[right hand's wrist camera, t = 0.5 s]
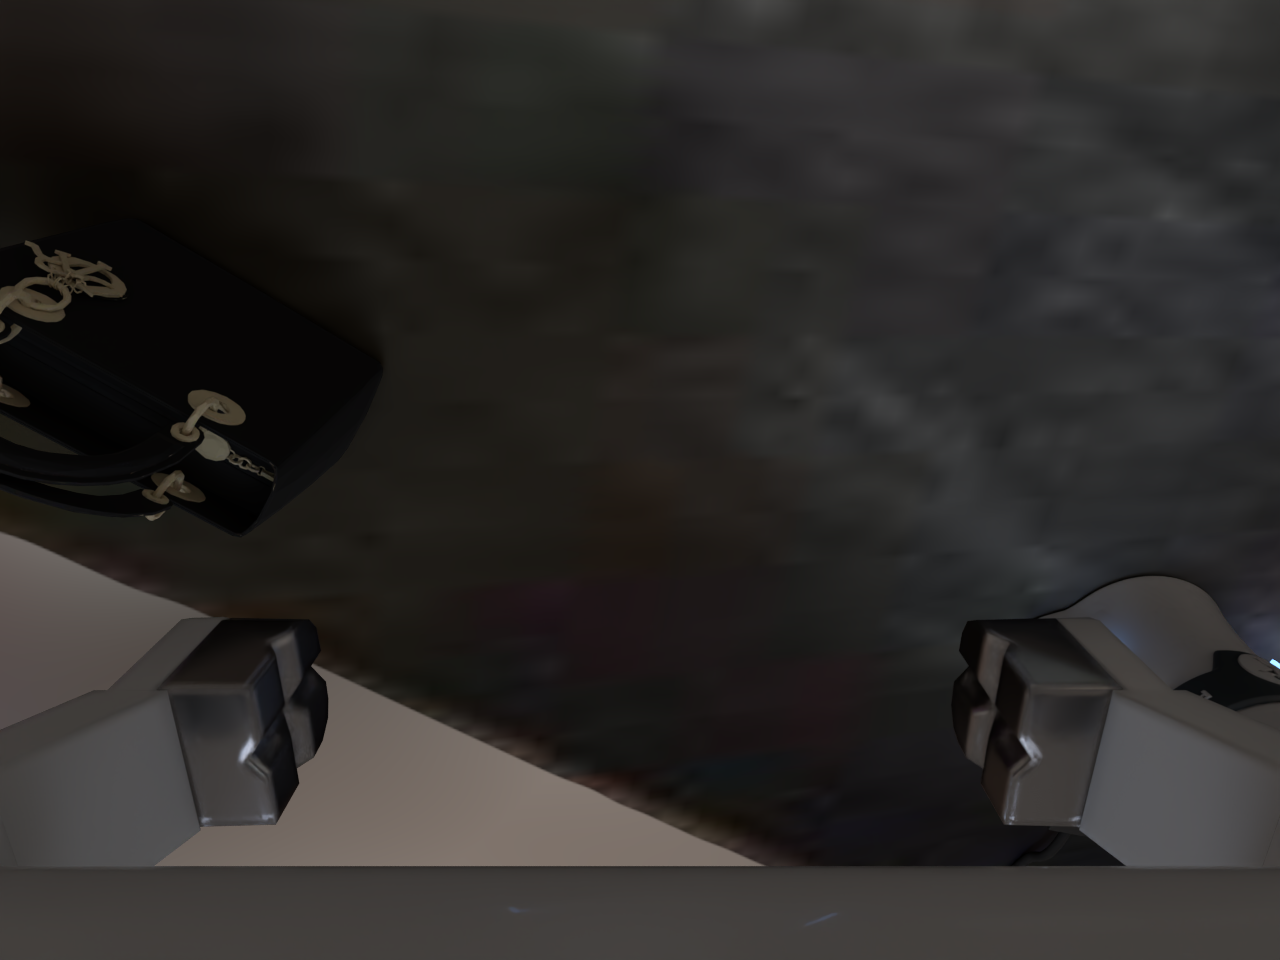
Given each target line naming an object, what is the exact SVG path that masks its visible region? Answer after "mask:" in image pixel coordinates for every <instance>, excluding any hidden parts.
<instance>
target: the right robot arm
mask: <svg viewBox="0 0 1280 960" xmlns="http://www.w3.org/2000/svg"><path fill="white" fill-rule="evenodd" d="M320 651H321V649H320V644H319V639H318V634H317V629H316V627H315V626H314V624H313V623H312V622H311V621H310V620H309V619H259V618H230V619H229V618H226V617H213V618H189V619H182V620H181V621H179V622H178V623H177V624H176V625H175V626H174V627H173V628H172V629H171V630H170V631H169V632H168V633H167V634H166V635H165V636H164V637H163V638H162V639H161V640H160V641H158V642H157V643H156V644H155V645H154V646H153V647H152V648H151V649H150V650H149V651H148V652H147V653H146V654H145V655H144V656H143V657H142V658H141V659H140V660H139V661H137V662H136V663H135V664H134V665H133V666H132V667H131V668H130V669H129V670H128V671H127V672H126V673H125V674H124V675H123V676H122V677H121V678H120V679H119V680H118V681H117V682H115V683H114V684H113V685H112V686H111V687H110V688H109V689H108V690H93V691H91V692H89V693H86V694H84V695H82V696H79V697H77V698H75V699H72V700H70V701H67V702H65V703H63V704H60V705H58V706H56V707H53V708H51V709H48V710H46V711H44V712H41V713H39V714H37V715H34V716H32V717H30V718H27V719H25V720H22V721H20V722H18V723H16V724H13V725H11V726H8V727H6V728H4V729H1V730H0V960H1280V730H1279V729H1276V728H1274V727H1271V726H1269V725H1267V724H1264V723H1262V722H1260V721H1257V720H1255V719H1253V718H1250V717H1248V716H1246V715H1243V714H1241V713H1238V712H1236V711H1234V710H1231V709H1229V708H1227V707H1224V706H1222V705H1220V704H1217V703H1215V702H1213V701H1210V700H1208V699H1205V698H1203V697H1201V696H1198V695H1196V694H1194V693H1191V692H1189V691H1187V690H1172V689H1171V688H1170V687H1169V686H1168V685H1167V684H1166V683H1165V682H1164V681H1163V680H1162V679H1160V678H1159V677H1158V676H1157V675H1156V674H1155V673H1154V672H1153V671H1152V670H1151V669H1150V668H1149V667H1148V666H1147V665H1146V664H1145V663H1144V662H1143V661H1142V660H1141V659H1140V658H1138V657H1137V656H1136V655H1135V654H1134V653H1133V652H1132V651H1131V650H1130V649H1129V648H1128V647H1127V646H1126V645H1125V644H1124V643H1123V642H1122V641H1121V640H1120V639H1119V638H1118V637H1117V636H1115V635H1114V634H1113V633H1112V632H1111V631H1110V630H1109V629H1108V628H1107V627H1106V626H1105V625H1104V624H1103V623H1102V622H1101V621H1100V620H1097V619H1094V618H1091V617H1076V618H1039V619H998V620H973V621H967V624H966V626H965V628H964V630H963V632H962V637H961V643H960V648H959V651H960V653H961V655H962V656H963V658H964V659H965V661H966V662H967V664H968V665H969V667H968V668H967V669H966V670H965V671H964V672H963V673H962V674H961V675H960V676H959V677H958V678H957V679H956V680H955V681H954V687H953V696H952V704H951V706H952V717H953V727H954V730H955V734H956V737H957V740H958V743H959V745H960V747H961V749H962V750H963V752H964V754H965V756H966V758H968V759H969V760H971V761H973V762H974V763H976V764H977V765H979V766H980V767H982V768H983V773H982V779H981V785H982V786H983V788H984V790H985V792H986V793H987V795H988V797H989V799H990V800H991V802H992V804H993V806H994V807H995V809H996V811H997V813H998V814H999V816H1000V818H1001V820H1002V821H1003V823H1004V825H1037V826H1074V827H1080V829H1079V830H1080V831H1081V832H1083V833H1084V834H1085V835H1087V836H1088V837H1089V838H1090V839H1092V840H1093V841H1094V842H1096V843H1097V844H1098V845H1100V846H1101V847H1102V848H1104V849H1105V850H1106V851H1107V852H1109V853H1110V854H1111V855H1113V856H1114V857H1115V858H1117V859H1118V860H1119V861H1121V862H1122V863H1123V864H1124V865H1126V866H155V865H156V864H157V863H158V862H160V861H161V860H162V859H164V858H165V857H166V856H167V855H169V854H170V853H171V852H173V851H174V850H175V849H177V848H178V847H179V846H181V845H182V844H183V843H185V842H186V841H187V840H188V839H190V838H191V837H192V836H194V835H195V834H196V833H198V832H199V831H200V827H205V826H241V825H275V824H276V823H277V822H278V820H279V818H280V816H281V815H282V813H283V811H284V809H285V808H286V806H287V804H288V802H289V800H290V799H291V797H292V795H293V793H294V792H295V790H296V788H297V786H298V785H299V779H298V773H297V768H298V767H300V766H301V765H303V764H304V763H306V762H307V761H309V760H310V759H312V758H314V756H315V754H316V752H317V750H318V748H319V747H320V745H321V743H322V741H323V737H324V733H325V728H326V724H327V720H328V694H327V686H326V681H325V680H324V679H323V678H322V677H321V676H320V675H319V674H318V673H317V672H316V671H315V670H314V669H313V668H312V667H311V665H312V664H313V662H314V661H315V659H316V658H317V656H318V655H319V653H320Z"/></svg>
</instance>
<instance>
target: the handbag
mask: <svg viewBox="0 0 1280 960" xmlns="http://www.w3.org/2000/svg"><path fill="white" fill-rule="evenodd" d="M382 373H383V367H382V366H381V364H380V363H379V362H378V361H376V360H374V359H373V358H371V357H369V356H368V355H366V354H364V353H363V352H361V351H359V350H358V349H356V348H354V347H353V346H351V345H349V344H348V343H346V342H344V341H343V340H341V339H339V338H338V337H336V336H334V335H333V334H331V333H329V332H328V331H326V330H324V329H323V328H321V327H319V326H318V325H316V324H314V323H313V322H311V321H309V320H308V319H306V318H304V317H303V316H301V315H299V314H298V313H296V312H294V311H293V310H291V309H289V308H288V307H286V306H284V305H283V304H281V303H279V302H278V301H276V300H274V299H273V298H271V297H269V296H268V295H266V294H264V293H263V292H261V291H259V290H258V289H256V288H254V287H253V286H251V285H249V284H247V283H246V282H244V281H242V280H241V279H239V278H237V277H235V276H234V275H232V274H230V273H229V272H227V271H225V270H224V269H222V268H220V267H218V266H217V265H215V264H213V263H212V262H210V261H208V260H207V259H205V258H203V257H201V256H200V255H198V254H196V253H195V252H193V251H191V250H190V249H188V248H186V247H184V246H183V245H181V244H179V243H178V242H176V241H174V240H172V239H171V238H169V237H167V236H166V235H164V234H162V233H161V232H159V231H157V230H155V229H154V228H152V227H150V226H149V225H147V224H145V223H144V222H142V221H140V220H138V219H122V220H117V221H112V222H106V223H102V224H98V225H94V226H90V227H86V228H82V229H78V230H73V231H69V232H65V233H61V234H57V235H53V236H49V237H45V238H41V239H37V240H33V241H25V243H21V244H17V245H13V246H8V247H4V248H0V413H1V414H3V415H5V416H7V417H8V418H10V419H12V420H14V421H16V422H18V423H20V424H22V425H24V426H25V427H27V428H29V429H31V430H33V431H35V432H37V433H39V434H41V435H43V436H44V437H46V438H48V439H50V440H52V441H54V442H56V443H58V444H60V445H61V446H63V447H65V448H67V449H69V450H71V451H73V452H75V453H77V454H78V455H70V454H59V453H50V452H44V451H38V450H34V449H31V448H28V447H24V446H21V445H17V444H14V443H12V442H10V441H8V440H6V439H4V438H2V437H0V490H3V491H5V492H8V493H11V494H14V495H16V496H19V497H22V498H25V499H29V500H32V501H36V502H39V503H43V504H47V505H50V506H54V507H58V508H61V509H65V510H68V511H72V512H78V513H85V514H93V515H100V516H108V517H138V516H146V518H148V519H149V520H155V519H157V518H159V517H160V516H161V515H162V514H163V513H164V512H165V511H166V510H168V509H170V508H171V506H172V505H175V506H177V507H179V508H181V509H183V510H185V511H186V512H188V513H190V514H192V515H194V516H196V517H198V518H200V519H202V520H203V521H205V522H207V523H209V524H211V525H213V526H215V527H217V528H219V529H220V530H222V531H224V532H226V533H228V534H230V535H232V536H236V537H242V536H244V535H246V534H247V533H249V532H250V531H252V530H253V529H254V528H256V527H257V526H258V525H260V524H261V523H263V522H264V521H265V520H267V519H268V518H269V517H271V516H272V515H274V514H275V513H276V512H278V511H279V510H280V509H282V508H283V507H284V506H285V505H287V504H288V503H289V502H290V501H291V500H293V499H294V498H295V497H296V496H298V495H299V494H300V493H301V492H303V491H304V490H305V489H306V488H307V487H309V486H310V485H311V484H312V483H313V482H315V481H316V480H317V479H318V478H319V477H320V476H321V475H322V474H324V473H325V472H326V471H327V470H328V469H329V468H330V467H331V466H333V465H334V464H335V463H336V462H337V461H338V460H339V459H340V458H341V456H342V455H343V454H344V452H345V451H346V450H347V448H348V447H349V445H350V443H351V441H352V439H353V437H354V436H355V434H356V432H357V430H358V428H359V427H360V425H361V423H362V421H363V419H364V417H365V416H366V414H367V412H368V409H369V407H370V404H371V402H372V400H373V397H374V395H375V393H376V390H377V388H378V385H379V383H380V380H381V377H382ZM35 481H36V482H35ZM38 482H42V483H48V484H58V485H74V486H94V485H111V484H118V483H124V482H131V483H133V484H135V485H137V486H139V487H141V488H143V489H140V490H136V491H133V492H130V493H126V494H123V495H110V496H94V495H87V494H80V493H76V492H71V491H67V490H63V489H59V488H54V487H51V486H47V485H44V484H41V483H38Z"/></svg>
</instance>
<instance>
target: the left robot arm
mask: <svg viewBox="0 0 1280 960" xmlns="http://www.w3.org/2000/svg"><path fill="white" fill-rule="evenodd" d="M1076 617H1091V618H1094V619H1097V620H1100V621H1101V622H1102V623H1103V624H1104V625H1105V626H1106V627H1107V628H1108V629H1109V630H1110V631H1111V632H1112V633H1113V634H1114V635H1115V636H1117V637H1118V638H1119V639H1120V640H1121V641H1122V642H1123V643H1124V644H1125V645H1126V646H1127V647H1128V648H1129V649H1130V650H1131V651H1132V652H1133V653H1134V654H1135V655H1136V656H1137V657H1138V658H1140V659H1141V660H1142V661H1143V662H1144V663H1145V664H1146V665H1147V666H1148V667H1149V668H1150V669H1151V670H1152V671H1153V672H1154V673H1155V674H1156V675H1157V676H1158V677H1159V678H1160V679H1162V680H1163V681H1164V682H1165V683H1166V684H1167V685H1168V686H1169V687H1170V688H1171V689H1172V690H1187V691H1189V692H1191V693H1194V694H1196V695H1198V696H1201V697H1203V698H1205V699H1208V700H1210V701H1213V702H1215V703H1217V704H1220V705H1222V706H1224V707H1227V708H1229V709H1231V710H1234V711H1236V712H1238V713H1241V714H1243V715H1246V716H1248V717H1250V718H1253V719H1255V720H1257V721H1260V722H1262V723H1264V724H1267V725H1269V726H1271V727H1274V728H1276V729H1279V730H1280V664H1279V663H1278V662H1276V661H1275V660H1273V659H1272V660H1271V662H1268V661H1266V660H1264V659H1262V658H1260V657H1258V656H1257V655H1256V654H1255V653H1254V652H1253V651H1252V650H1251V649H1250V648H1249V647H1248V646H1247V645H1246V644H1245V643H1244V642H1243V640H1242V639H1241V638H1240V637H1239V636H1238V635H1237V633H1236V632H1235V631H1234V630H1233V629H1232V627H1231V626H1230V625H1229V623H1228V622H1227V621H1226V619H1225V618H1224V616H1223V614H1222V613H1221V611H1220V609H1219V607H1218V606H1217V604H1216V603H1215V601H1214V600H1213V599H1212V598H1211V597H1210V596H1209V595H1208V594H1207V593H1206V592H1205V591H1203V590H1202V589H1200V588H1199V587H1197V586H1195V585H1193V584H1191V583H1189V582H1187V581H1184V580H1181V579H1177V578H1172V577H1166V576H1142V577H1135V578H1130V579H1126V580H1122V581H1119V582H1116V583H1113V584H1110V585H1108V586H1106V587H1104V588H1101V589H1099V590H1098V591H1096V592H1094V593H1092V594H1091V595H1089V596H1087V597H1086V598H1084V599H1083V600H1081V601H1080V602H1078V603H1077V604H1075V605H1074V606H1072V607H1070V608H1069V609H1067V610H1065V611H1061V612H1057V613H1053V614H1050V615H1046V616H1043V617H1040V618H1076ZM1038 619H1039V618H1038ZM1047 828H1048V829H1049V830H1053V831H1059V833H1058V835H1057V836H1056V837H1055V839H1054V840H1053V841H1052V842H1051V844H1050V845H1049V846H1048V847H1047V848H1045V849H1044V850H1043V851H1041V852H1029V853H1027V854H1025V855H1024V856H1022V857H1021V858H1020V859H1018V860H1017V861H1016V862H1015V863H1014V864H1013V865H1012V866H1027V865H1029V864H1030V863H1031V862H1033V861H1038V862H1042V861H1046V860H1048V859H1050V858H1051V857H1053V856H1054V855H1055V854H1056V853H1057V852H1058V851H1059V850H1060V849H1061V848H1062V846H1063V845H1064V844H1065V842H1066V841H1067V840H1068V838H1069V837H1070V836H1071V834H1075V835H1081V836H1086V837H1088V836H1087V835H1085V834H1084V833H1083V832H1081V831H1080V830H1079V829H1080V827H1074V826H1047Z"/></svg>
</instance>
